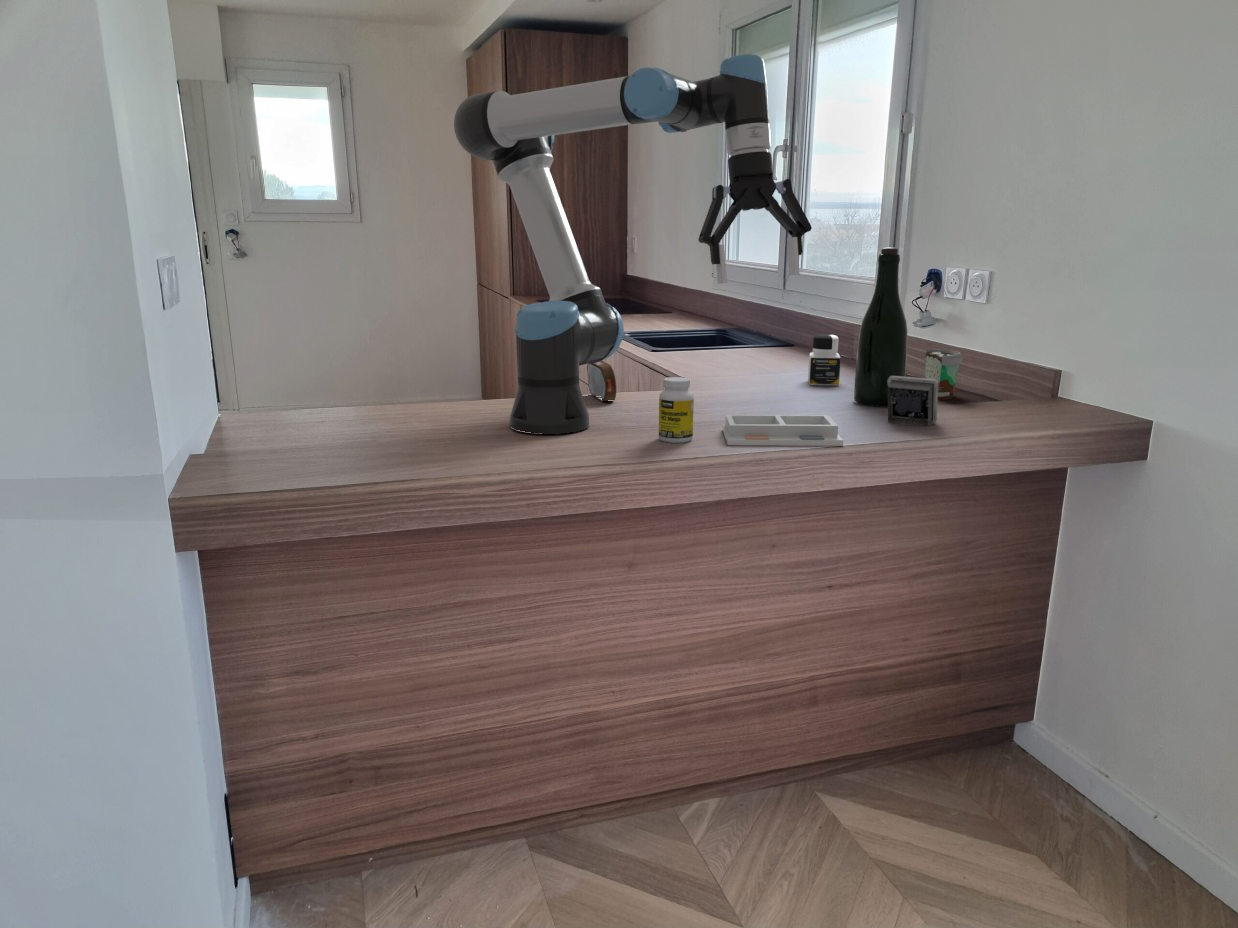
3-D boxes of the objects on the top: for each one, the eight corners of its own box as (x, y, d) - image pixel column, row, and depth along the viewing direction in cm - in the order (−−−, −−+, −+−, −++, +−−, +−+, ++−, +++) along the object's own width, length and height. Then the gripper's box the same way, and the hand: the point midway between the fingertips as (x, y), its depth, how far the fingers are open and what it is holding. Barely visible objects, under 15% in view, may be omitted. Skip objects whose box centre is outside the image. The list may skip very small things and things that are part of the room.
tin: (617, 404, 187) (617, 366, 184) (603, 405, 186) (603, 366, 183) (598, 393, 200) (597, 357, 198) (585, 393, 199) (584, 357, 197)
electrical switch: (937, 423, 166) (940, 377, 163) (930, 431, 162) (933, 383, 159) (888, 418, 171) (891, 373, 168) (881, 425, 167) (883, 379, 164)
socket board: (727, 445, 149) (728, 428, 149) (722, 430, 161) (723, 414, 160) (842, 445, 149) (844, 429, 148) (829, 430, 160) (830, 415, 159)
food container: (967, 401, 189) (972, 356, 186) (939, 401, 189) (943, 356, 186) (947, 391, 200) (951, 348, 198) (921, 391, 201) (924, 348, 198)
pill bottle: (655, 442, 151) (656, 381, 149) (661, 435, 157) (662, 375, 154) (690, 444, 150) (691, 382, 147) (695, 436, 156) (696, 376, 153)
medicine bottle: (809, 385, 209) (811, 336, 206) (807, 380, 216) (810, 333, 213) (839, 386, 208) (842, 336, 205) (836, 381, 215) (839, 333, 212)
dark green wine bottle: (878, 409, 180) (890, 248, 171) (843, 401, 189) (853, 247, 180) (913, 404, 185) (927, 247, 176) (877, 397, 193) (889, 247, 185)
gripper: (686, 155, 141) (698, 286, 145) (826, 144, 146) (833, 270, 150) (673, 163, 148) (685, 287, 152) (806, 152, 153) (814, 272, 157)
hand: (758, 279), depth 151 cm, fingers open, 13 cm apart
